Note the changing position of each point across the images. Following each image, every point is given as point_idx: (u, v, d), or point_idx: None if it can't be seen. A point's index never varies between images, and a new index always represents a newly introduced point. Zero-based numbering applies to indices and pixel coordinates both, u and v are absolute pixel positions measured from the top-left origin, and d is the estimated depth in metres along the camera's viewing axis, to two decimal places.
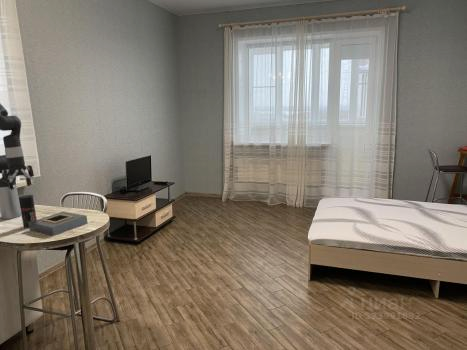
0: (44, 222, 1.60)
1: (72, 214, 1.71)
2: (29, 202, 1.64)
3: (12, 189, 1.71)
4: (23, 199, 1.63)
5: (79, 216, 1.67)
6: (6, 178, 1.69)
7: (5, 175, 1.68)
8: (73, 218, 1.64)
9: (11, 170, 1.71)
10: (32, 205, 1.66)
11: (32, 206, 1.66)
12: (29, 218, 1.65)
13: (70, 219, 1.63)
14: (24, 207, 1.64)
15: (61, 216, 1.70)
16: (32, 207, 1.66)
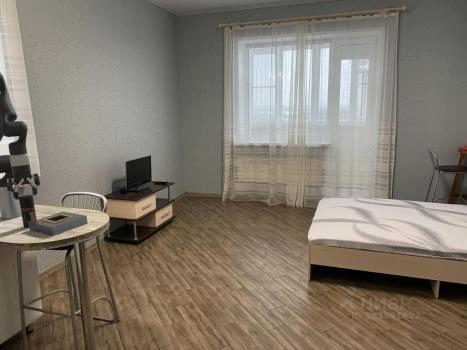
0: (44, 222, 1.60)
1: (72, 214, 1.71)
2: (29, 202, 1.64)
3: (17, 199, 1.61)
4: (23, 199, 1.63)
5: (79, 216, 1.67)
6: (11, 188, 1.58)
7: (10, 184, 1.58)
8: (73, 218, 1.64)
9: (16, 179, 1.60)
10: (32, 205, 1.66)
11: (32, 206, 1.66)
12: (29, 218, 1.65)
13: (70, 219, 1.63)
14: (24, 207, 1.64)
15: (61, 216, 1.70)
16: (32, 207, 1.66)
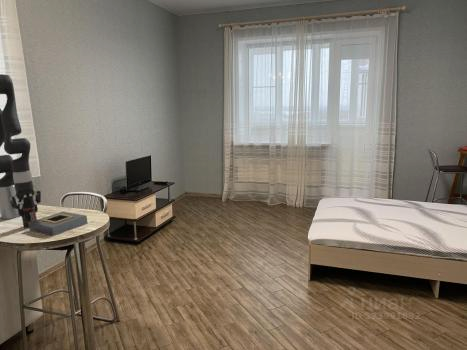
0: (44, 222, 1.60)
1: (72, 214, 1.71)
2: (29, 201, 1.64)
3: (22, 216, 1.64)
4: (23, 199, 1.63)
5: (79, 216, 1.67)
6: (16, 205, 1.61)
7: (14, 202, 1.60)
8: (73, 218, 1.64)
9: (19, 197, 1.62)
10: (32, 205, 1.66)
11: (32, 206, 1.66)
12: (29, 218, 1.65)
13: (70, 219, 1.63)
14: (24, 207, 1.64)
15: (61, 216, 1.70)
16: (32, 207, 1.66)
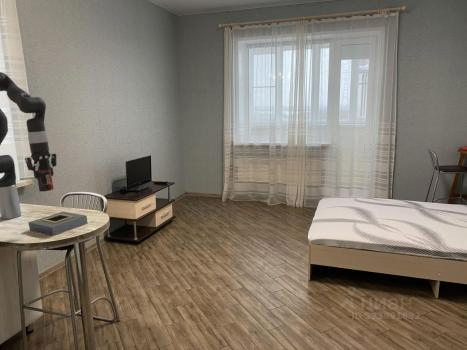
0: (44, 222, 1.60)
1: (72, 214, 1.71)
2: (45, 163, 1.58)
3: (38, 178, 1.58)
4: (39, 160, 1.57)
5: (79, 216, 1.67)
6: (31, 166, 1.55)
7: (30, 163, 1.54)
8: (73, 218, 1.64)
9: (35, 158, 1.56)
10: (48, 168, 1.60)
11: (48, 168, 1.60)
12: (45, 181, 1.59)
13: (70, 219, 1.63)
14: (40, 169, 1.57)
15: (61, 216, 1.70)
16: (48, 169, 1.60)
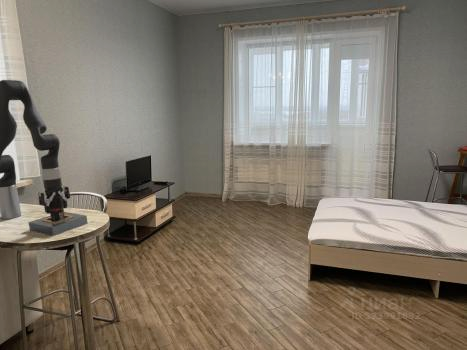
0: (44, 222, 1.60)
1: (72, 214, 1.71)
2: (58, 202, 1.61)
3: None
4: (53, 199, 1.60)
5: (79, 216, 1.67)
6: (43, 202, 1.57)
7: (42, 199, 1.56)
8: (73, 218, 1.64)
9: (48, 193, 1.59)
10: (61, 206, 1.63)
11: (61, 206, 1.63)
12: (58, 219, 1.62)
13: (70, 219, 1.63)
14: (53, 207, 1.61)
15: None
16: (61, 207, 1.63)
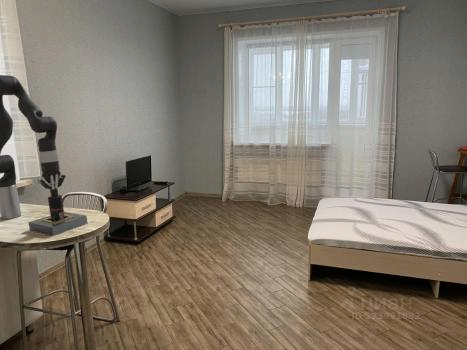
0: (44, 222, 1.60)
1: (72, 214, 1.71)
2: (58, 202, 1.61)
3: None
4: (53, 199, 1.60)
5: (79, 216, 1.67)
6: (48, 186, 1.58)
7: (45, 184, 1.57)
8: (73, 218, 1.64)
9: (46, 179, 1.58)
10: (61, 206, 1.63)
11: (61, 206, 1.63)
12: (58, 219, 1.62)
13: (70, 219, 1.63)
14: (53, 207, 1.61)
15: None
16: (61, 207, 1.63)
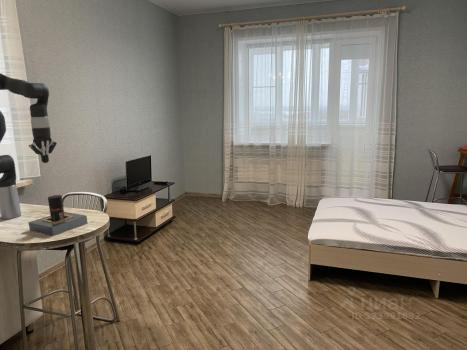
0: (44, 222, 1.60)
1: (72, 214, 1.71)
2: (58, 202, 1.61)
3: (45, 162, 1.65)
4: (53, 199, 1.60)
5: (79, 216, 1.67)
6: (38, 151, 1.62)
7: (36, 149, 1.61)
8: (73, 218, 1.64)
9: (37, 144, 1.61)
10: (61, 206, 1.63)
11: (61, 206, 1.63)
12: (58, 219, 1.62)
13: (70, 219, 1.63)
14: (53, 207, 1.61)
15: None
16: (61, 207, 1.63)
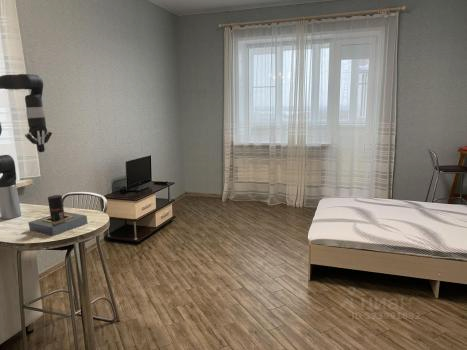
0: (44, 222, 1.60)
1: (72, 214, 1.71)
2: (58, 202, 1.61)
3: None
4: (53, 199, 1.60)
5: (79, 216, 1.67)
6: (34, 141, 1.67)
7: (31, 139, 1.65)
8: (73, 218, 1.64)
9: (33, 134, 1.66)
10: (61, 206, 1.63)
11: (61, 206, 1.63)
12: (58, 219, 1.62)
13: (70, 219, 1.63)
14: (53, 207, 1.61)
15: None
16: (61, 207, 1.63)
